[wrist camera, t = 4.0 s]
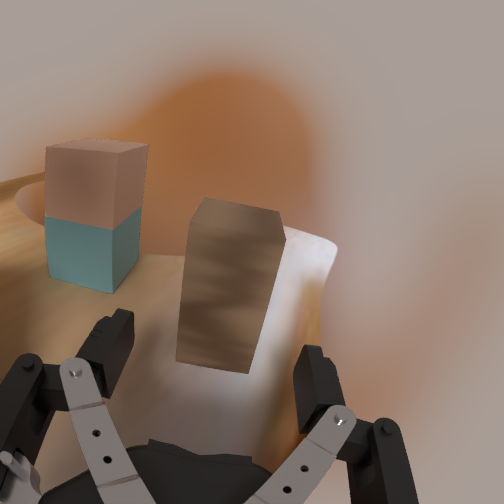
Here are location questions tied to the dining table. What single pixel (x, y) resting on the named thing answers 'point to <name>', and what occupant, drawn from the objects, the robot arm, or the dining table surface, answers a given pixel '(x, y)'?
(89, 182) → the tower top
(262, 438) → the dining table surface
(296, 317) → the dining table surface
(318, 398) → the robot arm
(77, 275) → the tower base
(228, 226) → the pillar
